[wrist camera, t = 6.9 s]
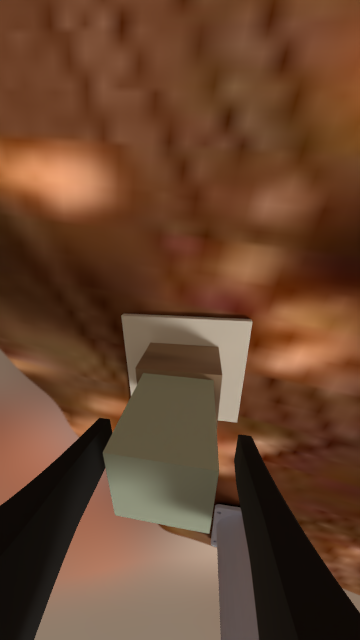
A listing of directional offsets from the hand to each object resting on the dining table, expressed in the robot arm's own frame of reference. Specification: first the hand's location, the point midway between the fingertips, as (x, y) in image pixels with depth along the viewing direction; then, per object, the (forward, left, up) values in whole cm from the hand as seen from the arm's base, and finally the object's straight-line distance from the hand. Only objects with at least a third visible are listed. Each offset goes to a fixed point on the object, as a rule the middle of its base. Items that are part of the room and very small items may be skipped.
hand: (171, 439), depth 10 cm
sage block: (0, 0, -2) cm, 2 cm away
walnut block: (0, 0, -6) cm, 6 cm away
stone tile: (0, 0, -6) cm, 6 cm away
